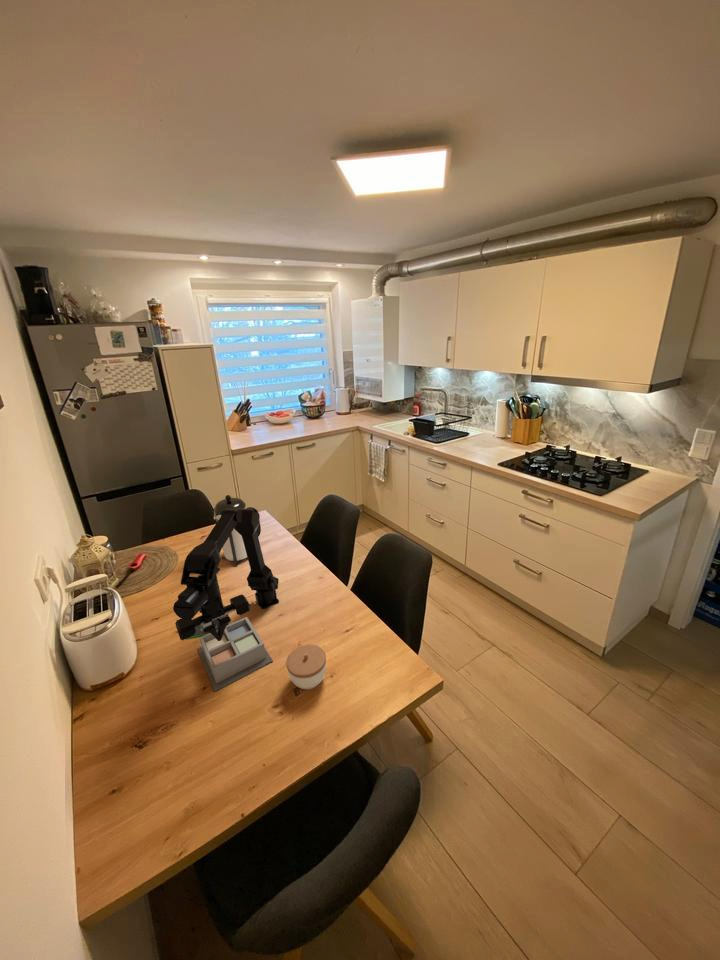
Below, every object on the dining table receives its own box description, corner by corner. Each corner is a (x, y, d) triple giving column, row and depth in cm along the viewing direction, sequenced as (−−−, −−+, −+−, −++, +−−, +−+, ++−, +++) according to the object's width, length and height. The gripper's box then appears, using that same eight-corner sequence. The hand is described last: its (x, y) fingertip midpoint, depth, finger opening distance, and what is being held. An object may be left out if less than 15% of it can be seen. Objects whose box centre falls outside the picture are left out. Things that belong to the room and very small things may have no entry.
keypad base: (250, 625, 128) (247, 611, 126) (272, 661, 113) (270, 646, 111) (197, 649, 119) (194, 635, 117) (214, 691, 105) (210, 676, 103)
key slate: (247, 632, 124) (245, 624, 123) (253, 643, 120) (251, 634, 119) (230, 640, 121) (228, 632, 120) (235, 651, 117) (233, 643, 116)
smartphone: (185, 622, 131) (230, 615, 133) (185, 625, 131) (231, 617, 133) (179, 638, 124) (227, 630, 126) (180, 641, 124) (228, 632, 126)
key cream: (225, 642, 121) (223, 634, 120) (231, 653, 116) (229, 645, 115) (207, 651, 118) (205, 642, 117) (212, 662, 113) (210, 654, 112)
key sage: (254, 643, 119) (252, 634, 117) (261, 654, 114) (259, 645, 113) (236, 651, 116) (234, 643, 114) (242, 663, 111) (240, 654, 110)
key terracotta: (232, 656, 115) (230, 647, 114) (238, 668, 111) (236, 659, 110) (213, 665, 112) (211, 656, 111) (219, 678, 108) (216, 669, 107)
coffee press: (253, 566, 163) (242, 501, 152) (216, 567, 163) (202, 503, 153) (264, 545, 179) (254, 485, 168) (230, 546, 179) (218, 487, 169)
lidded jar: (296, 703, 100) (292, 676, 97) (284, 674, 109) (280, 648, 106) (334, 686, 104) (331, 659, 101) (319, 659, 113) (316, 634, 110)
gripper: (233, 568, 114) (242, 611, 119) (165, 593, 104) (178, 638, 109) (246, 586, 105) (255, 631, 110) (173, 614, 95) (186, 663, 101)
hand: (219, 639), depth 108 cm, fingers closed
